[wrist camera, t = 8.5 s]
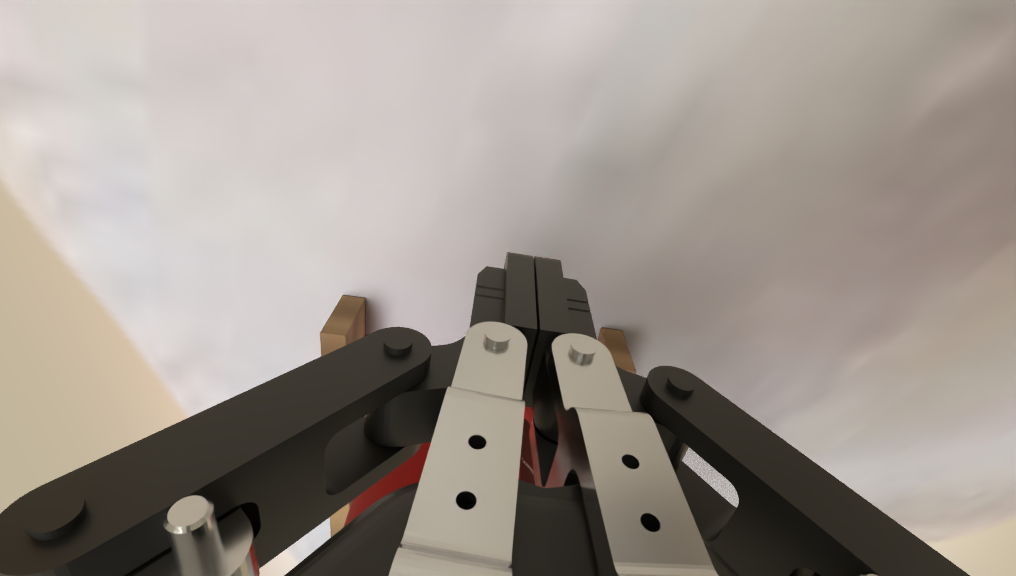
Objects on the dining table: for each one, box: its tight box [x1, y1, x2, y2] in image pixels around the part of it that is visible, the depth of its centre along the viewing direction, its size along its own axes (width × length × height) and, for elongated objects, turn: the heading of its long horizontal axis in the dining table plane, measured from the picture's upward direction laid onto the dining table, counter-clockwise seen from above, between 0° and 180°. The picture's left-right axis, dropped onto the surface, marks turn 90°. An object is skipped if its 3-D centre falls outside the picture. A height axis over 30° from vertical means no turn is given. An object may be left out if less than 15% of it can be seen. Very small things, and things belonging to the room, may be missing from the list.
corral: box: [320, 295, 636, 537], centre depth 25 cm, size 15×13×3 cm
